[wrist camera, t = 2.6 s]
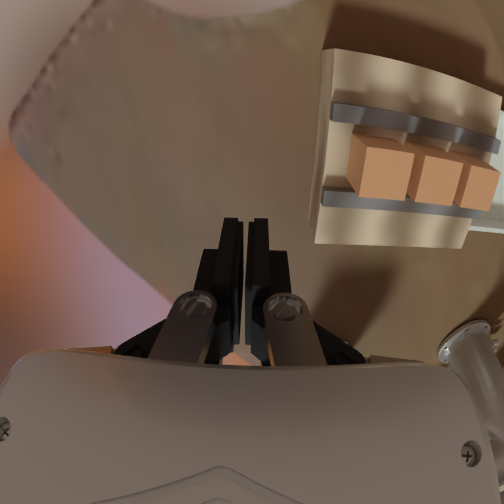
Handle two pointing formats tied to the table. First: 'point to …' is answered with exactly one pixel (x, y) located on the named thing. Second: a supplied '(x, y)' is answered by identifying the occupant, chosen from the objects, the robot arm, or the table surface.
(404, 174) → the chip
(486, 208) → the chip
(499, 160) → the tray
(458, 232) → the slot board
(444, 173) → the light brown block
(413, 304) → the table surface
